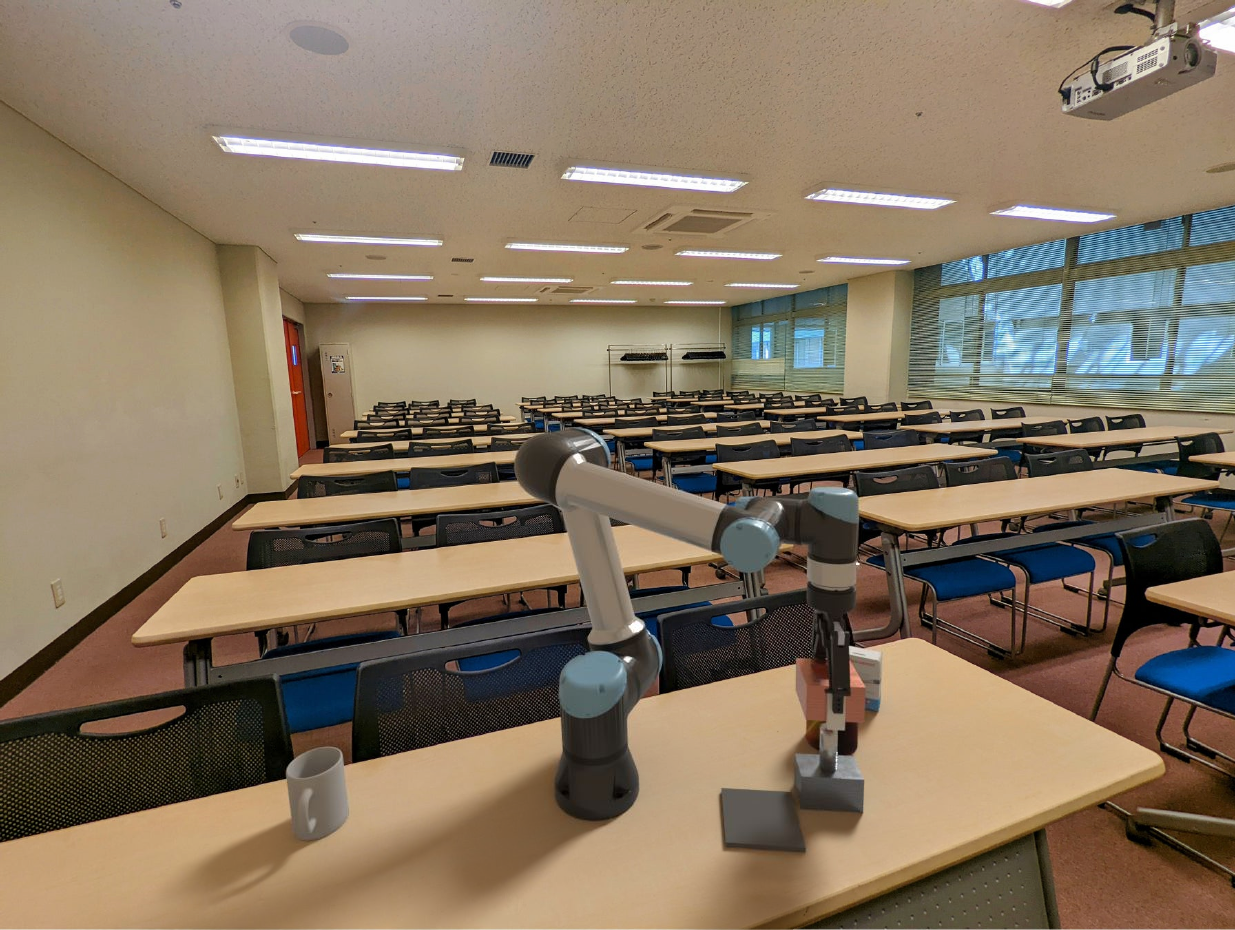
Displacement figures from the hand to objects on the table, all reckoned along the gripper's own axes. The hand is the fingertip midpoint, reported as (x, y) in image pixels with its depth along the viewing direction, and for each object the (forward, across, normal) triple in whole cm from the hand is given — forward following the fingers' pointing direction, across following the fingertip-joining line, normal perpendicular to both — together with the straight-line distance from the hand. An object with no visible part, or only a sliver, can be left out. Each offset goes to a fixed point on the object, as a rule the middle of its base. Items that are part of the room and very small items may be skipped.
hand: (827, 711), depth 95 cm
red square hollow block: (-1, 0, 0) cm, 1 cm away
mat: (+16, -6, +12) cm, 21 cm away
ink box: (+16, +31, -14) cm, 38 cm away
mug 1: (+17, -14, +85) cm, 88 cm away
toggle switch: (+16, 0, 0) cm, 16 cm away
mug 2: (+16, +18, -4) cm, 25 cm away
